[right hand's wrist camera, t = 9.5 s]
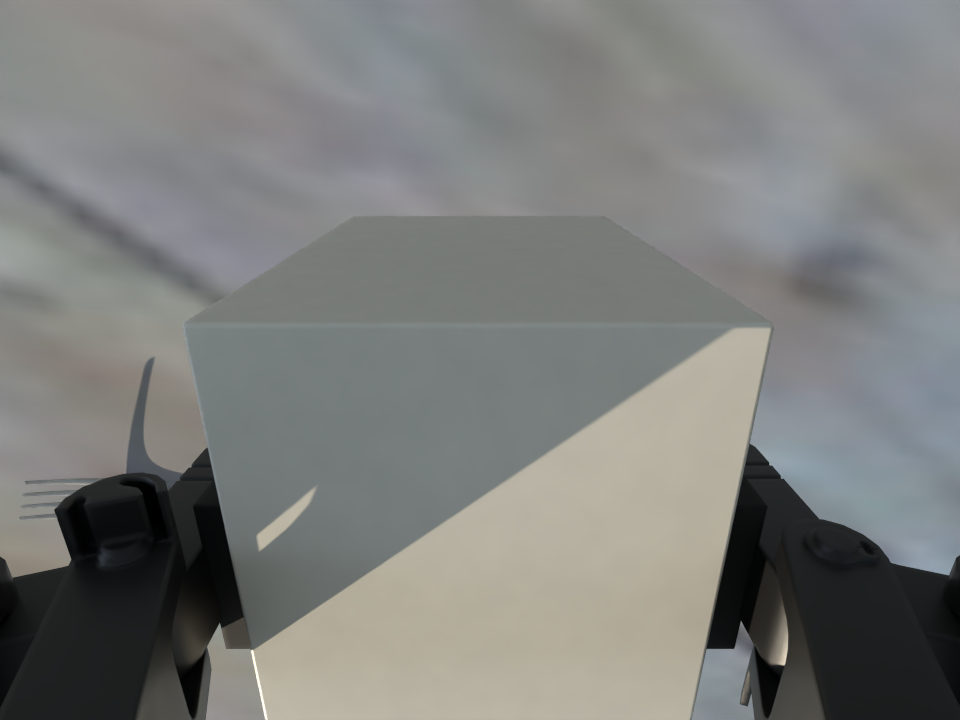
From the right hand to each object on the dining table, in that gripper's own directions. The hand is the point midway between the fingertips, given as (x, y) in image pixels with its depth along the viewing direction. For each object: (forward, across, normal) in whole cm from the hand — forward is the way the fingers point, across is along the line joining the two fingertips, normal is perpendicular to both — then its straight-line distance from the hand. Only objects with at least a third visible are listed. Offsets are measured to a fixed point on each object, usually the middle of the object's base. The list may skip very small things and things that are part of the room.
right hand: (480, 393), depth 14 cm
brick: (+2, 0, 0) cm, 2 cm away
